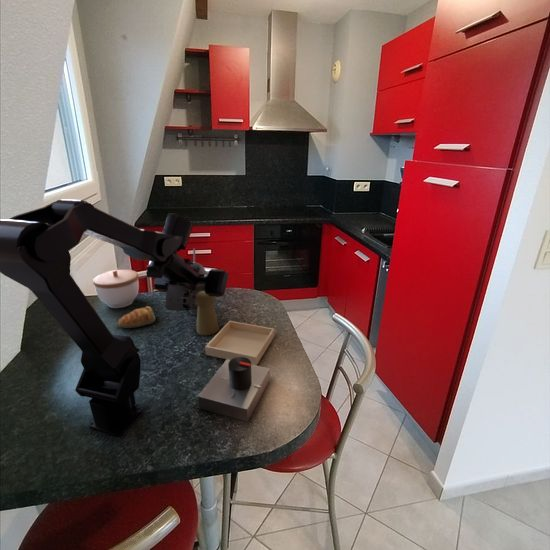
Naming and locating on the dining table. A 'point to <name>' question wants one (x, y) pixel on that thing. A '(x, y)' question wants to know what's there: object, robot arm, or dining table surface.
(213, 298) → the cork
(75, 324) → the robot arm
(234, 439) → the dining table surface
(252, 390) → the stove panel
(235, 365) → the stove knob
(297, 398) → the dining table surface
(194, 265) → the beverage cup
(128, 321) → the pastry
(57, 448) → the dining table surface
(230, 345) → the wooden tray
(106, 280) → the lidded bowl
